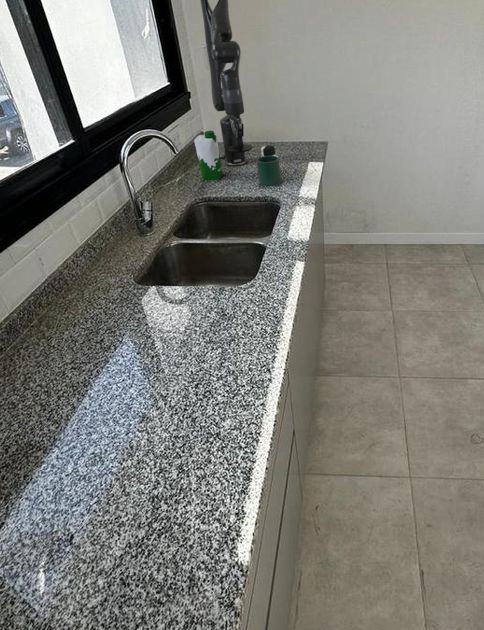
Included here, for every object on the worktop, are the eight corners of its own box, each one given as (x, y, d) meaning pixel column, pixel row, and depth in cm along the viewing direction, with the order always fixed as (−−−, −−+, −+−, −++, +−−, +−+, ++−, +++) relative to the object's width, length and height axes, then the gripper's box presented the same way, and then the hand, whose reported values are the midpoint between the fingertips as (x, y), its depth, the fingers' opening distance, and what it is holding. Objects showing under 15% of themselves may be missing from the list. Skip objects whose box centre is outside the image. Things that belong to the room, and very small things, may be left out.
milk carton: (220, 181, 193) (211, 134, 181) (200, 182, 194) (190, 135, 182) (225, 175, 200) (217, 129, 188) (205, 175, 201) (196, 129, 189)
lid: (226, 149, 186) (223, 133, 183) (248, 145, 189) (246, 130, 186) (231, 155, 179) (229, 140, 175) (255, 151, 182) (253, 136, 178)
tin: (257, 182, 191) (254, 157, 185) (277, 178, 194) (274, 154, 188) (263, 189, 184) (260, 164, 178) (284, 185, 187) (281, 160, 181)
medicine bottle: (279, 171, 202) (277, 144, 194) (276, 176, 196) (274, 149, 189) (264, 171, 202) (261, 144, 195) (261, 176, 197) (257, 149, 189)
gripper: (247, 102, 169) (253, 148, 179) (238, 96, 179) (244, 140, 189) (228, 105, 166) (235, 151, 177) (219, 98, 176) (227, 142, 187)
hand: (239, 145), depth 183 cm, fingers closed on lid, 2 cm apart
